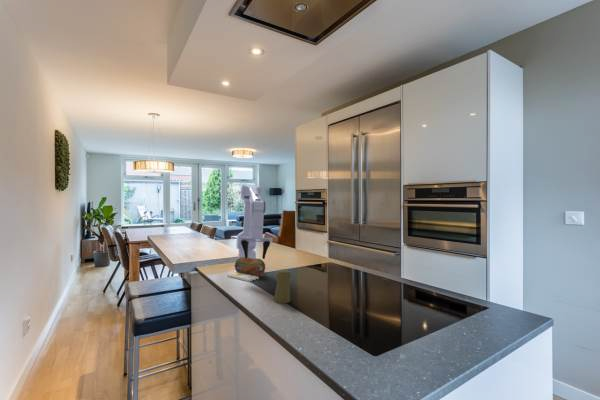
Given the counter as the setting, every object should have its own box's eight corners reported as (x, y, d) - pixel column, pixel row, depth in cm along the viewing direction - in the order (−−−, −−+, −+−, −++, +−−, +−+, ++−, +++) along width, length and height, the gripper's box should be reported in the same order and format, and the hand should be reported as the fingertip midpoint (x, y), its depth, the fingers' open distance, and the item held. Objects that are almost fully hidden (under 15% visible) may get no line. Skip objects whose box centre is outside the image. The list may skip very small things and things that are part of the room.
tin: (233, 273, 143) (235, 256, 143) (237, 272, 146) (238, 255, 146) (262, 278, 139) (264, 260, 139) (265, 276, 142) (266, 259, 142)
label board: (236, 274, 143) (237, 271, 143) (258, 279, 136) (258, 276, 136) (227, 276, 137) (227, 273, 137) (249, 281, 131) (249, 278, 131)
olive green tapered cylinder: (291, 298, 111) (293, 269, 111) (289, 304, 105) (291, 272, 105) (275, 297, 112) (277, 267, 112) (272, 302, 106) (274, 270, 106)
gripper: (238, 226, 130) (236, 258, 128) (271, 227, 129) (270, 259, 127) (242, 227, 137) (240, 257, 135) (273, 228, 136) (272, 258, 134)
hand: (254, 258), depth 131 cm, fingers open, 7 cm apart
